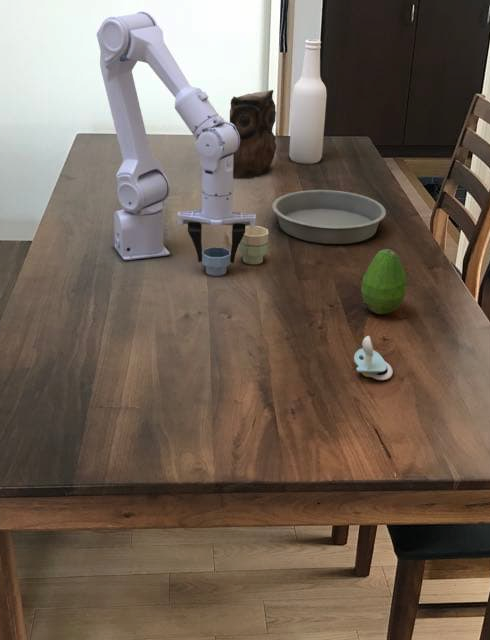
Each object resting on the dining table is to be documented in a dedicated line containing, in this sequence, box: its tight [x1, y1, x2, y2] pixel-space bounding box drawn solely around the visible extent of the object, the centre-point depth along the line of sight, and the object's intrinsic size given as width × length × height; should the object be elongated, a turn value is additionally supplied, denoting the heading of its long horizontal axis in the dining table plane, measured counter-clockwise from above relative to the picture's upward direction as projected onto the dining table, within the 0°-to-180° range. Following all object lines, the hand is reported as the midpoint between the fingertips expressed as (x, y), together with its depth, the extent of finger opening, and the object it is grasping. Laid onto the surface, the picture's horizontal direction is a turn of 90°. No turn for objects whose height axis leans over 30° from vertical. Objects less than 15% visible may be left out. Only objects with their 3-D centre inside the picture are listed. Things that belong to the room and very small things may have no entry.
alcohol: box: [288, 38, 328, 165], centre depth 231 cm, size 9×9×30 cm
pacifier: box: [353, 335, 394, 381], centre depth 139 cm, size 7×6×6 cm
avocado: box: [360, 248, 408, 315], centre depth 157 cm, size 8×8×12 cm
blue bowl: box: [201, 246, 232, 277], centre depth 172 cm, size 6×6×4 cm
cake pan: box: [272, 189, 387, 245], centre depth 195 cm, size 25×25×4 cm
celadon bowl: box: [238, 241, 269, 265], centre depth 177 cm, size 6×6×4 cm
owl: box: [228, 89, 277, 179], centre depth 222 cm, size 13×13×20 cm
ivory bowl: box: [240, 225, 269, 246], centre depth 176 cm, size 6×6×4 cm
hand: (216, 260), depth 171 cm, fingers closed on blue bowl, 5 cm apart
